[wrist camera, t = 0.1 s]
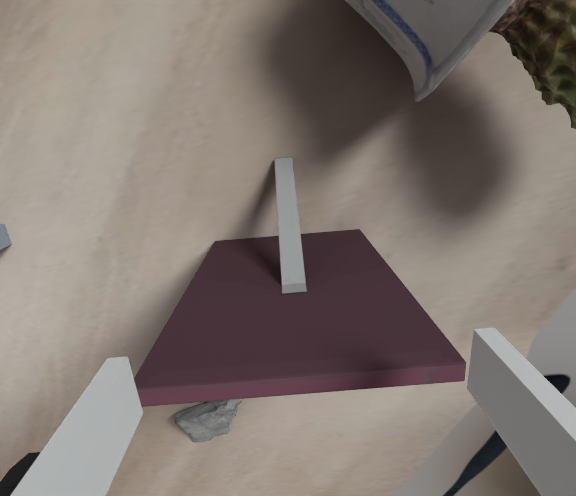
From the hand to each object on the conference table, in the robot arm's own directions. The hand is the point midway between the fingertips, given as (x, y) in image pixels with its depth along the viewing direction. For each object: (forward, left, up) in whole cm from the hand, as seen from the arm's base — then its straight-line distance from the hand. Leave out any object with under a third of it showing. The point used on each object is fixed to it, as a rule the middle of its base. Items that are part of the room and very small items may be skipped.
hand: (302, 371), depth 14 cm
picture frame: (0, 0, -28) cm, 28 cm away
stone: (+28, -12, -28) cm, 42 cm away
